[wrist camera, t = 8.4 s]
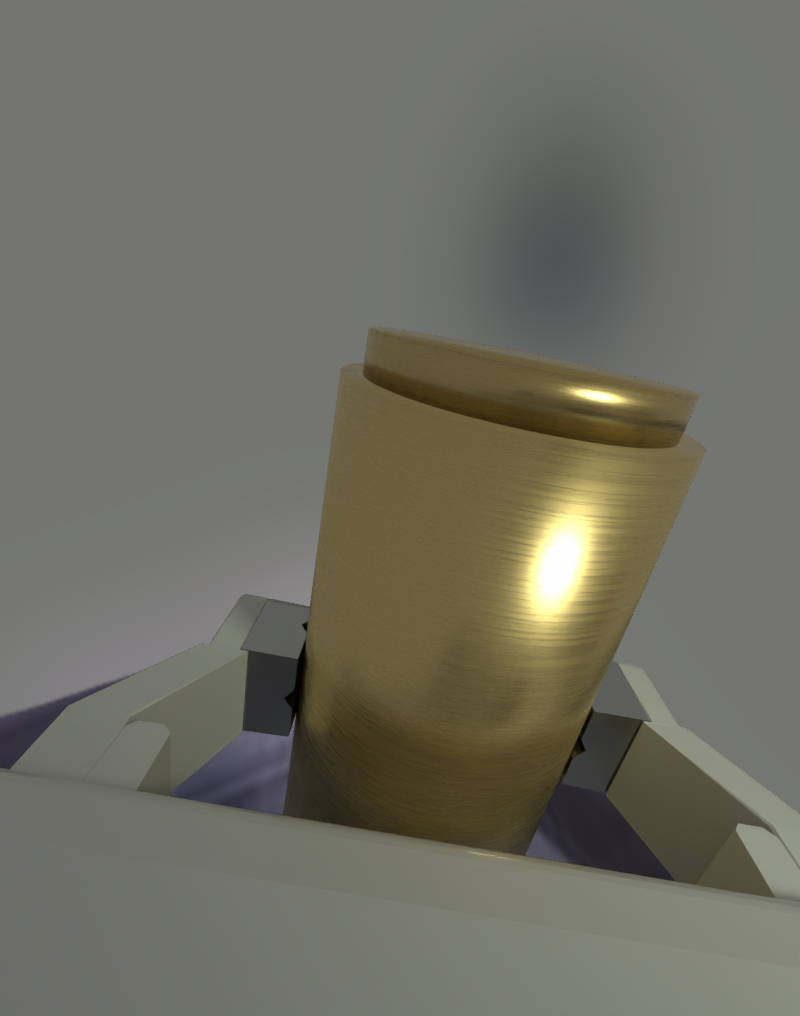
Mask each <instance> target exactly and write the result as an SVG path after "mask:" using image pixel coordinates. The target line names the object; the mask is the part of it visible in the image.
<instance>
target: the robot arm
mask: <svg viewBox="0 0 800 1016" xmlns="http://www.w3.org/2000/svg"><path fill="white" fill-rule="evenodd" d="M309 611H310V607H309V606H304V605H298V604H294V603H289V602H284V601H279V600H274V599H268V598H263V597H257V596H253V595H247V594H245V595H243V596H242V597H240V599H239V600H238V602H237V603H236V605H235V606H234V608H233V609H232V611H231V612H230V614H229V615H228V617H227V618H226V620H225V622H224V623H223V624H222V626H221V628H220V629H219V631H218V632H217V634H216V635H215V637H214V638H213V640H212V641H211V643H210V644H205V643H201V644H199V645H197V646H194V647H193V648H190V649H188V650H186V651H184V652H182V653H179V654H177V655H175V656H173V657H171V658H169V659H167V660H164V661H162V662H160V663H158V664H156V665H154V666H152V667H149V668H147V669H145V670H143V671H141V672H139V673H137V674H135V675H132V676H130V677H128V678H126V679H124V680H122V681H120V682H117V683H115V684H113V685H111V686H109V687H107V688H105V689H102V690H100V691H98V692H96V693H94V694H92V695H90V696H87V697H85V698H83V699H81V700H79V701H77V702H75V703H72V704H70V705H68V706H67V707H66V709H65V710H64V711H63V712H62V713H61V714H60V715H59V716H58V717H57V718H56V719H55V720H54V722H53V723H52V724H51V725H50V726H49V727H48V728H47V729H46V730H45V731H44V732H43V734H42V735H41V736H40V737H39V738H38V739H37V740H36V741H35V742H34V743H33V744H32V745H31V747H30V748H29V749H28V750H27V751H26V752H25V753H24V754H23V755H22V756H21V757H20V759H19V760H18V761H17V762H16V763H15V764H14V765H13V766H12V767H11V768H10V769H4V768H0V1016H800V815H799V814H798V813H797V812H795V811H794V810H793V809H792V808H790V807H789V806H788V805H786V804H785V803H784V802H782V801H781V800H780V799H778V798H777V797H776V796H774V795H773V794H772V793H771V792H769V791H768V790H767V789H765V788H764V787H763V786H761V785H760V784H759V783H757V782H756V781H755V780H753V779H752V778H751V777H750V776H748V775H747V774H746V773H744V772H743V771H742V770H741V769H739V768H738V767H736V766H735V765H734V764H732V763H731V762H730V761H729V760H727V759H726V758H725V757H723V756H722V755H721V754H720V753H718V752H717V751H716V750H714V749H713V748H712V747H710V746H709V745H708V744H706V743H705V742H704V741H703V740H701V739H700V738H698V737H697V736H696V735H695V734H693V733H692V732H691V731H689V730H688V729H685V728H680V727H679V726H678V725H677V723H676V721H675V720H674V718H673V717H672V715H671V714H670V712H669V710H668V709H667V707H666V705H665V704H664V702H663V701H662V699H661V698H660V696H659V694H658V693H657V691H656V690H655V688H654V686H653V685H652V683H651V682H650V680H649V679H648V677H647V675H646V674H645V672H644V671H643V669H642V668H641V667H639V666H638V665H636V664H631V663H624V662H618V661H612V662H611V665H610V667H609V669H608V671H607V674H606V676H605V678H604V680H603V682H602V685H601V687H600V689H599V691H598V694H597V696H596V698H595V700H594V703H593V705H592V707H591V709H590V712H589V714H588V716H587V718H586V720H585V723H584V725H583V727H582V729H581V732H580V734H579V736H578V738H577V741H576V743H575V745H574V747H573V749H572V752H571V754H570V756H569V758H568V761H567V763H566V765H565V767H564V770H563V772H562V774H561V776H560V780H561V783H562V784H565V785H570V786H575V787H580V788H585V789H590V790H594V791H599V792H604V793H606V796H607V797H608V799H609V800H610V801H611V802H612V804H613V805H614V806H615V807H616V808H617V810H618V811H619V812H620V813H621V815H622V816H623V817H624V818H625V819H626V821H627V822H628V823H629V824H630V826H631V827H632V828H633V829H634V831H635V832H636V833H637V834H638V835H639V837H640V838H641V839H642V840H643V842H644V843H645V844H646V845H647V847H648V848H649V849H650V850H651V851H652V853H653V854H654V855H655V856H656V858H657V859H658V860H659V861H660V862H661V864H662V865H663V866H664V867H665V869H666V870H667V871H668V872H669V874H670V875H671V876H672V877H673V878H674V880H675V881H670V880H664V879H658V878H653V877H647V876H641V875H635V874H629V873H623V872H617V871H611V870H605V869H599V868H593V867H587V866H582V865H576V864H570V863H564V862H558V861H552V860H546V859H540V858H534V857H528V856H522V855H516V854H510V853H504V852H498V851H492V850H486V849H481V848H475V847H469V846H463V845H457V844H451V843H445V842H439V841H433V840H427V839H421V838H415V837H409V836H403V835H397V834H391V833H385V832H379V831H373V830H367V829H361V828H355V827H349V826H343V825H338V824H332V823H326V822H320V821H314V820H308V819H302V818H296V817H290V816H284V815H278V814H272V813H266V812H260V811H254V810H248V809H242V808H236V807H230V806H224V805H218V804H213V803H207V802H201V801H195V800H189V799H183V798H177V797H171V792H172V791H173V790H174V789H176V788H177V787H178V786H179V785H180V784H182V783H183V782H184V781H185V780H186V779H188V778H189V777H190V776H191V775H192V774H194V773H195V772H196V771H197V770H198V769H200V768H201V767H202V766H203V765H204V764H206V763H207V762H208V761H209V760H210V759H212V758H213V757H214V756H215V755H216V754H218V753H219V752H220V751H221V750H222V749H223V748H225V747H226V746H227V745H228V744H229V743H231V742H232V741H233V740H234V739H235V738H237V737H238V736H239V735H240V734H241V733H242V730H245V731H252V732H259V733H266V734H273V735H280V736H287V737H288V736H289V733H290V730H291V727H292V724H293V721H294V718H295V715H296V712H297V704H298V697H299V689H300V681H301V673H302V666H303V658H304V650H305V642H306V634H307V626H308V618H309Z"/></svg>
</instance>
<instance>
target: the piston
mask: <svg viewBox="0 0 800 1016" xmlns="http://www.w3.org/2000/svg"><path fill="white" fill-rule="evenodd" d="M698 398H699V394H697V393H695V392H692V391H689V390H685V389H682V388H678V387H675V386H671V385H667V384H663V383H660V382H656V381H652V380H647V379H643V378H639V377H635V376H631V375H626V374H622V373H618V372H613V371H609V370H605V369H600V368H595V367H591V366H587V365H582V364H578V363H573V362H568V361H563V360H558V359H554V358H549V357H545V356H539V355H535V354H530V353H525V352H520V351H514V350H510V349H505V348H500V347H495V346H490V345H485V344H479V343H474V342H469V341H463V340H458V339H452V338H447V337H441V336H436V335H430V334H424V333H418V332H411V331H405V330H398V329H392V328H383V327H369V331H368V338H367V344H366V351H365V359H364V363H361V364H351V365H346V366H344V367H342V368H341V370H340V377H339V385H338V393H337V401H336V409H335V416H334V425H333V432H332V439H331V447H330V455H329V463H328V471H327V478H326V486H325V494H324V502H323V509H322V517H321V525H320V533H319V541H318V549H317V556H316V564H315V572H314V580H313V588H312V596H311V603H310V611H309V618H308V626H307V634H306V642H305V650H304V658H303V666H302V673H301V681H300V689H299V697H298V704H297V712H296V720H295V727H294V735H293V743H292V751H291V758H290V766H289V774H288V782H287V790H286V797H285V805H284V813H283V815H284V816H290V817H296V818H302V819H308V820H314V821H320V822H326V823H332V824H338V825H343V826H349V827H355V828H361V829H367V830H373V831H379V832H385V833H391V834H397V835H403V836H409V837H415V838H421V839H427V840H433V841H439V842H445V843H451V844H457V845H463V846H469V847H475V848H481V849H486V850H492V851H498V852H504V853H510V854H516V855H522V856H525V854H526V852H527V850H528V848H529V845H530V843H531V841H532V839H533V836H534V834H535V832H536V830H537V828H538V825H539V823H540V821H541V819H542V816H543V814H544V812H545V810H546V807H547V805H548V803H549V801H550V799H551V796H552V794H553V792H554V790H555V787H556V785H557V783H558V781H559V778H560V776H561V774H562V772H563V770H564V767H565V765H566V763H567V761H568V758H569V756H570V754H571V752H572V749H573V747H574V745H575V743H576V741H577V738H578V736H579V734H580V732H581V729H582V727H583V725H584V723H585V720H586V718H587V716H588V714H589V712H590V709H591V707H592V705H593V703H594V700H595V698H596V696H597V694H598V691H599V689H600V687H601V685H602V682H603V680H604V678H605V676H606V674H607V671H608V669H609V667H610V665H611V662H612V660H613V658H614V656H615V653H616V651H617V649H618V647H619V645H620V642H621V640H622V638H623V635H624V633H625V631H626V629H627V626H628V624H629V622H630V620H631V618H632V616H633V613H634V611H635V609H636V607H637V604H638V602H639V600H640V598H641V595H642V593H643V591H644V589H645V587H646V584H647V582H648V580H649V578H650V575H651V573H652V571H653V569H654V566H655V564H656V562H657V560H658V557H659V555H660V553H661V551H662V549H663V546H664V544H665V542H666V540H667V537H668V535H669V533H670V530H671V529H672V526H673V524H674V522H675V520H676V517H677V515H678V513H679V511H680V508H681V506H682V504H683V501H684V499H685V497H686V495H687V493H688V490H689V488H690V486H691V484H692V482H693V479H694V477H695V475H696V473H697V471H698V468H699V466H700V464H701V462H702V459H703V457H704V455H705V452H706V449H705V447H704V446H703V445H702V444H701V443H699V442H698V441H696V440H694V439H693V438H691V437H689V436H687V435H685V434H684V431H685V429H686V427H687V424H688V422H689V420H690V417H691V415H692V412H693V410H694V408H695V405H696V403H697V400H698Z"/></svg>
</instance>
